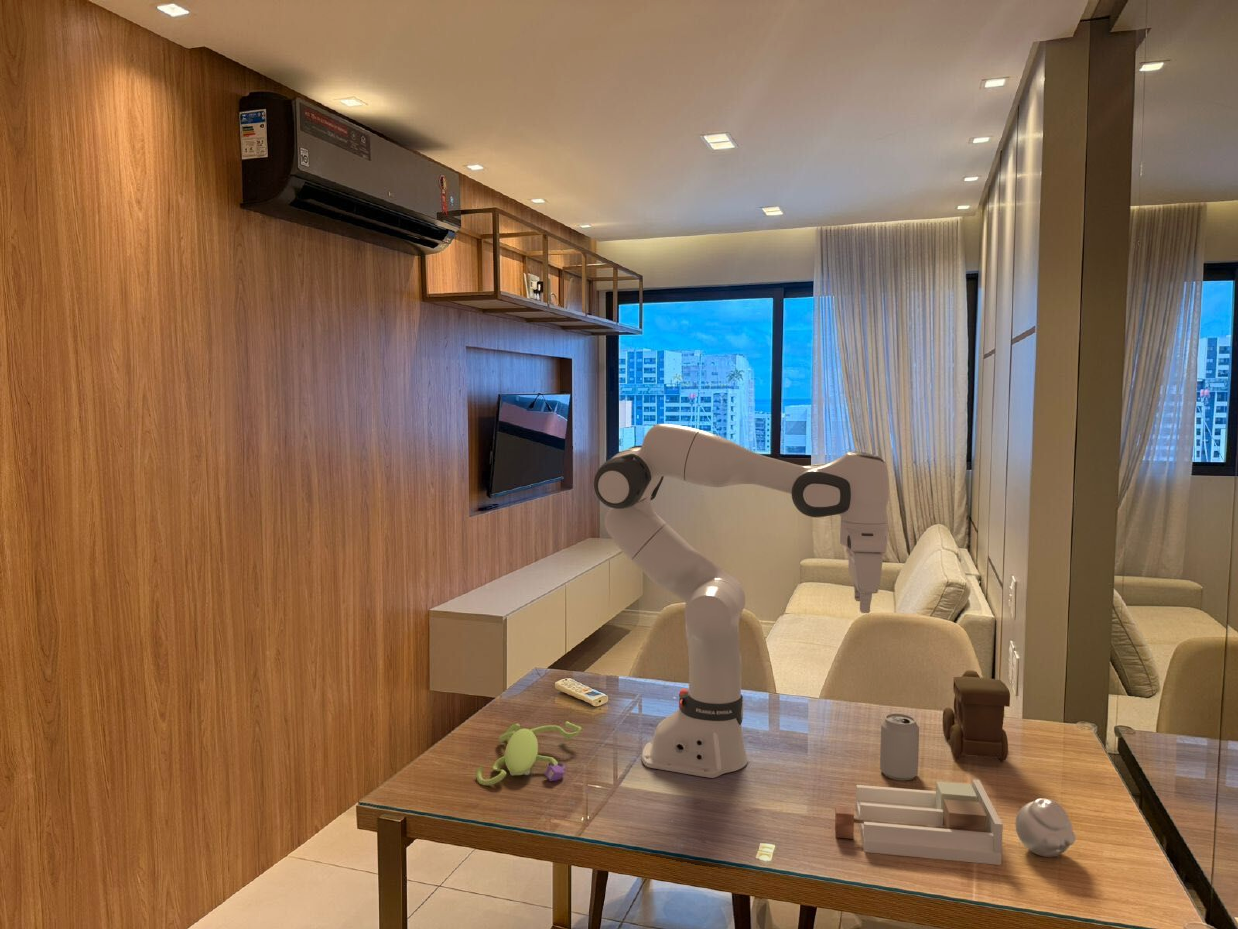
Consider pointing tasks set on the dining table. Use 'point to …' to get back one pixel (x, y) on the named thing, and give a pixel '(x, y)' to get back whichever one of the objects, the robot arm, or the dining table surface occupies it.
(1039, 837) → the grey round lump
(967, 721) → the wooden toy train
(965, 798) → the sage block
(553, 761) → the figurine
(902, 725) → the can
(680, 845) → the dining table surface
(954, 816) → the brown block pusher rod
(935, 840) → the lane shelf
